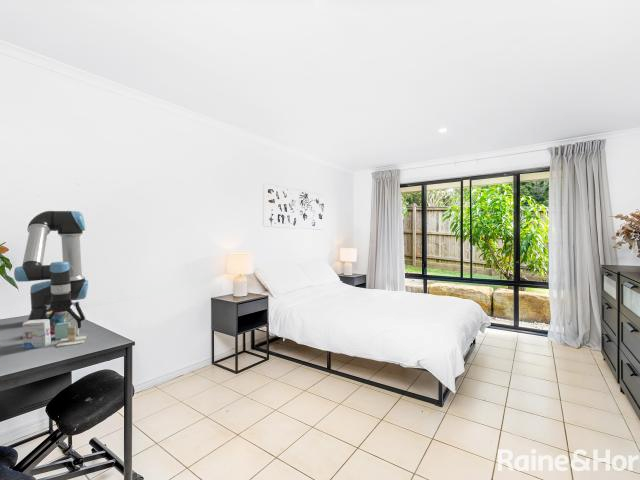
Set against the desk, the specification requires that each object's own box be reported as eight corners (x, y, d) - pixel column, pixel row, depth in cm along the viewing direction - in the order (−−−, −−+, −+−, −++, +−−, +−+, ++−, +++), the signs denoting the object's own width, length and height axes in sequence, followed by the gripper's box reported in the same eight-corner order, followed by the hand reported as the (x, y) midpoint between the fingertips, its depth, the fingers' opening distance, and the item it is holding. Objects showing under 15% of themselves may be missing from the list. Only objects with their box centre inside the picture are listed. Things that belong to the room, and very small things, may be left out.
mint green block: (57, 336, 158) (57, 323, 157) (70, 334, 160) (70, 321, 160) (55, 339, 153) (54, 326, 153) (68, 337, 156) (68, 324, 155)
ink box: (22, 349, 141) (21, 323, 141) (29, 345, 146) (28, 320, 146) (45, 347, 144) (44, 321, 143) (51, 343, 149) (50, 318, 148)
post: (61, 339, 153) (60, 325, 153) (86, 335, 158) (86, 322, 158) (55, 347, 143) (54, 332, 142) (83, 343, 148) (82, 328, 147)
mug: (45, 335, 159) (44, 315, 159) (46, 331, 166) (45, 311, 166) (75, 330, 167) (74, 310, 166) (75, 326, 174) (74, 307, 173)
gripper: (27, 297, 147) (30, 343, 148) (88, 291, 158) (90, 334, 159) (32, 294, 153) (34, 338, 154) (90, 289, 165) (92, 330, 166)
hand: (63, 336), depth 157 cm, fingers open, 11 cm apart
